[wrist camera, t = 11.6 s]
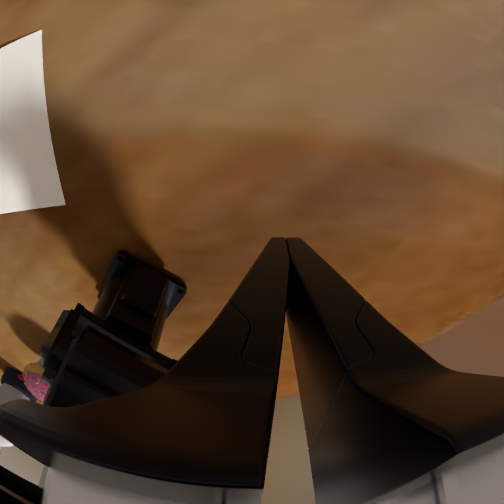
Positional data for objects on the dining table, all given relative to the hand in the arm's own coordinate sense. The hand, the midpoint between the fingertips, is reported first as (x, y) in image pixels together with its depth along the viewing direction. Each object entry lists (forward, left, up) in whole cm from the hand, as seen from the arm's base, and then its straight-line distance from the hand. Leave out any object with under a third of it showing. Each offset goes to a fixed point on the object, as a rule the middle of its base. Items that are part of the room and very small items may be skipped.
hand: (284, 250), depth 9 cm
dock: (-13, +24, -12) cm, 30 cm away
